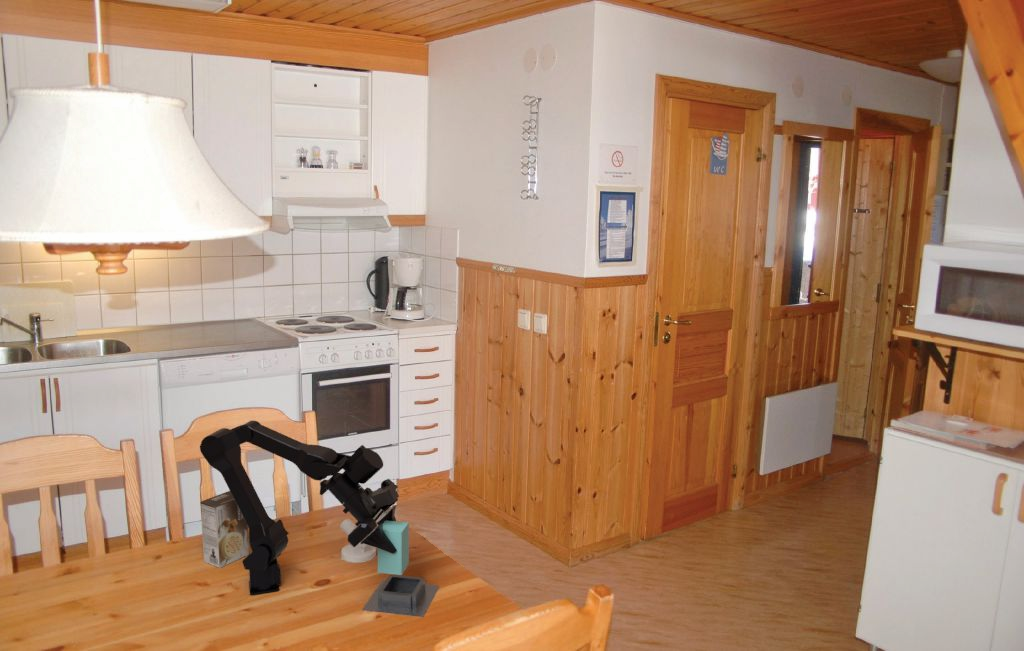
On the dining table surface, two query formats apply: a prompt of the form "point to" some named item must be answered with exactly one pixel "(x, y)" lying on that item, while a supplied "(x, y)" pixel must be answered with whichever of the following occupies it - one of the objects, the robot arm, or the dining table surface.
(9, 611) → the dining table surface
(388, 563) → the teal block
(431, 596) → the socket holder
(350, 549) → the wall hook
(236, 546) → the coffee box
